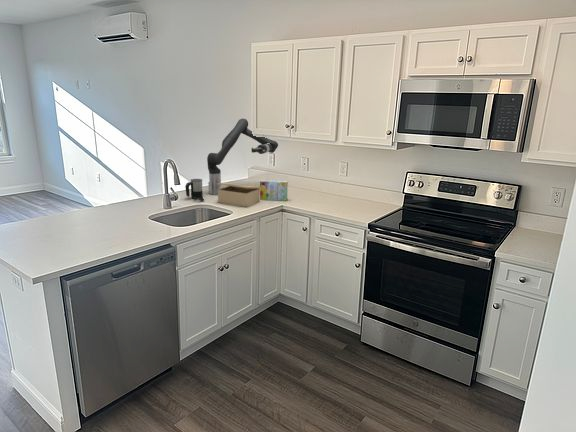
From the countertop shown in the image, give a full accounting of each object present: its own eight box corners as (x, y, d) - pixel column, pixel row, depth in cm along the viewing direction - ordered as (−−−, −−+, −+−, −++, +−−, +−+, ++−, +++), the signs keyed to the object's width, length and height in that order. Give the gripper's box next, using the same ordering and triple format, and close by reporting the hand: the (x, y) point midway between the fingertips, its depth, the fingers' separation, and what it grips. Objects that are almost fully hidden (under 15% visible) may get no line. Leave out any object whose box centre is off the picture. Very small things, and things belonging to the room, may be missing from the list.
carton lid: (217, 184, 290) (217, 182, 290) (231, 184, 308) (231, 183, 308) (246, 188, 279) (247, 186, 279) (260, 188, 297) (260, 187, 297)
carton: (218, 202, 294) (217, 189, 291) (232, 197, 310) (232, 185, 308) (246, 207, 284) (246, 193, 281) (259, 201, 300) (259, 188, 297)
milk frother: (196, 196, 311) (196, 178, 307) (212, 199, 304) (211, 180, 300) (184, 199, 300) (183, 181, 295) (199, 202, 292) (199, 183, 288)
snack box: (287, 199, 309) (287, 180, 304) (286, 201, 303) (287, 182, 299) (261, 198, 311) (261, 179, 306) (259, 199, 305) (259, 181, 301)
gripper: (256, 143, 324) (245, 145, 309) (270, 144, 319) (259, 147, 304) (256, 152, 326) (245, 155, 311) (270, 154, 321) (259, 156, 306)
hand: (252, 151), depth 308 cm, fingers closed
